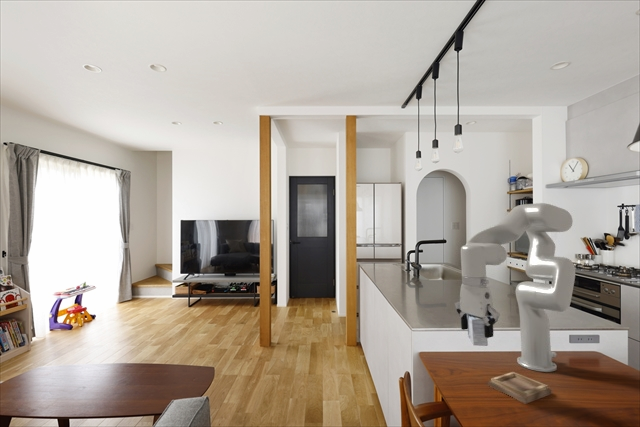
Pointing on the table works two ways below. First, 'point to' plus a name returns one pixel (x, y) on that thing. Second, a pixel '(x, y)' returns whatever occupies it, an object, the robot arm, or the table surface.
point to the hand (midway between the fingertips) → (476, 332)
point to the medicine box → (476, 330)
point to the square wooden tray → (519, 387)
